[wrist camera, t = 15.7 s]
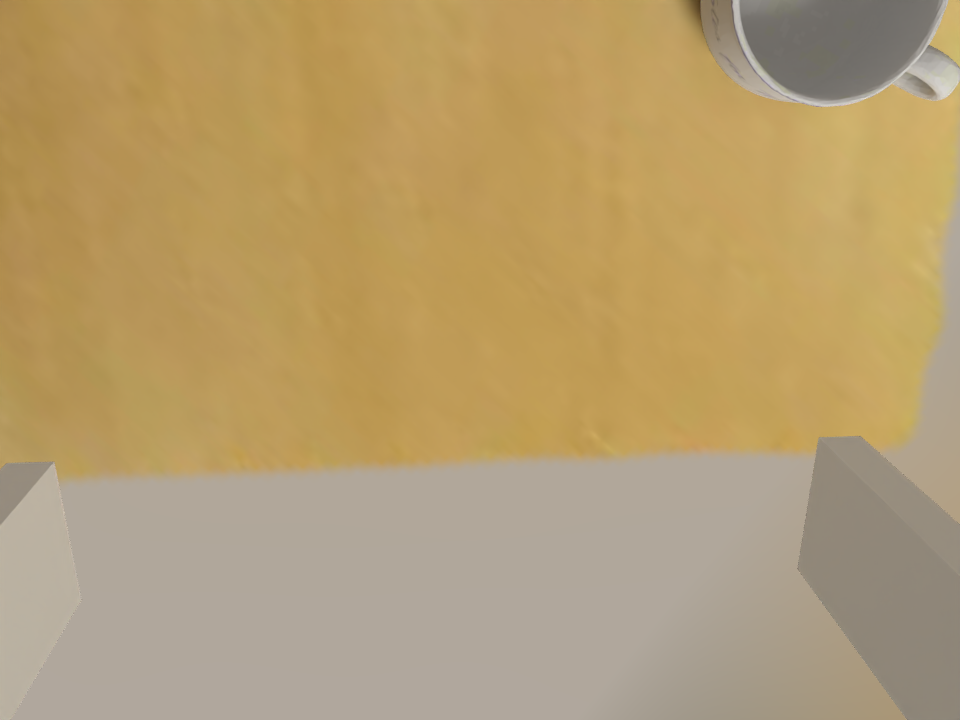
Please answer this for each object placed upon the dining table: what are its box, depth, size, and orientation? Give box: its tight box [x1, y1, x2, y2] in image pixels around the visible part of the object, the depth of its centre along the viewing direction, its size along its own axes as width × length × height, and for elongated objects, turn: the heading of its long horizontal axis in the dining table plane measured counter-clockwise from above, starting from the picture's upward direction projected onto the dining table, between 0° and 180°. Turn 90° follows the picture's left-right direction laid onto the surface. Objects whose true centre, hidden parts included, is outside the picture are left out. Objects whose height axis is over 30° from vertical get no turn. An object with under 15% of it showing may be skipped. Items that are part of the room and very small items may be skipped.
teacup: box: [700, 0, 960, 107], centre depth 44 cm, size 14×11×8 cm
